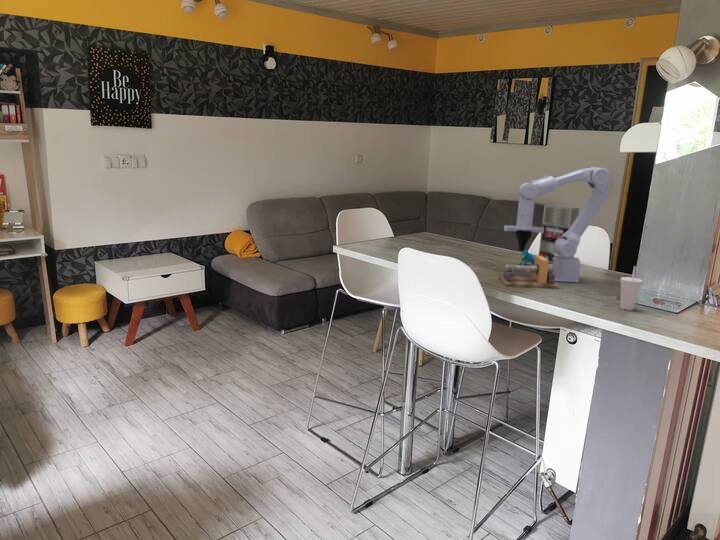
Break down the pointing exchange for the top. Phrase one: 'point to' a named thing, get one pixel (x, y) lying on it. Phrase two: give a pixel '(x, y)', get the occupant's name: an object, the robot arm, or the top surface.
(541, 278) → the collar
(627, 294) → the smoothie
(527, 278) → the pipe rig
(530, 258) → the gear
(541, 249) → the grey boxy piece
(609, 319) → the top surface
